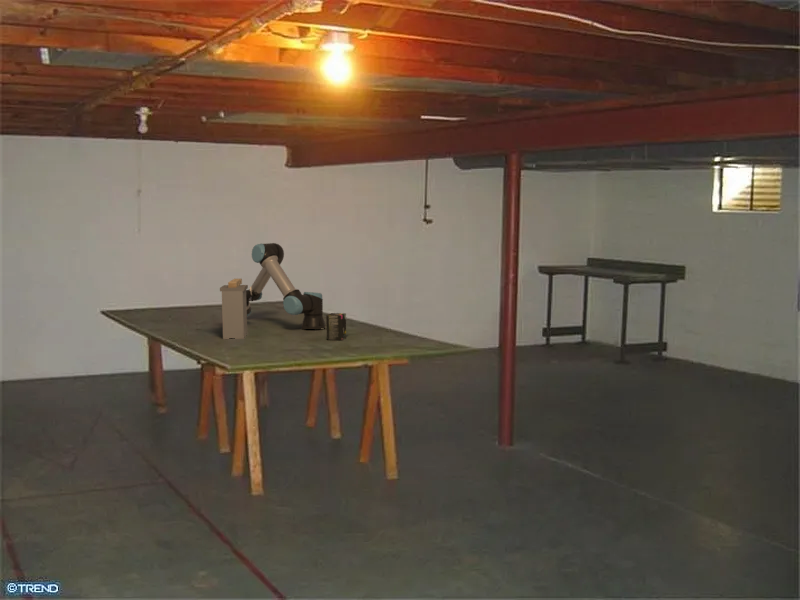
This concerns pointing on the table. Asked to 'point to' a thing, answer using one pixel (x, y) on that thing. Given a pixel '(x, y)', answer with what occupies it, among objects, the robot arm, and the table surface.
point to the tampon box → (336, 326)
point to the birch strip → (234, 283)
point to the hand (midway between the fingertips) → (239, 288)
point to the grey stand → (234, 312)
